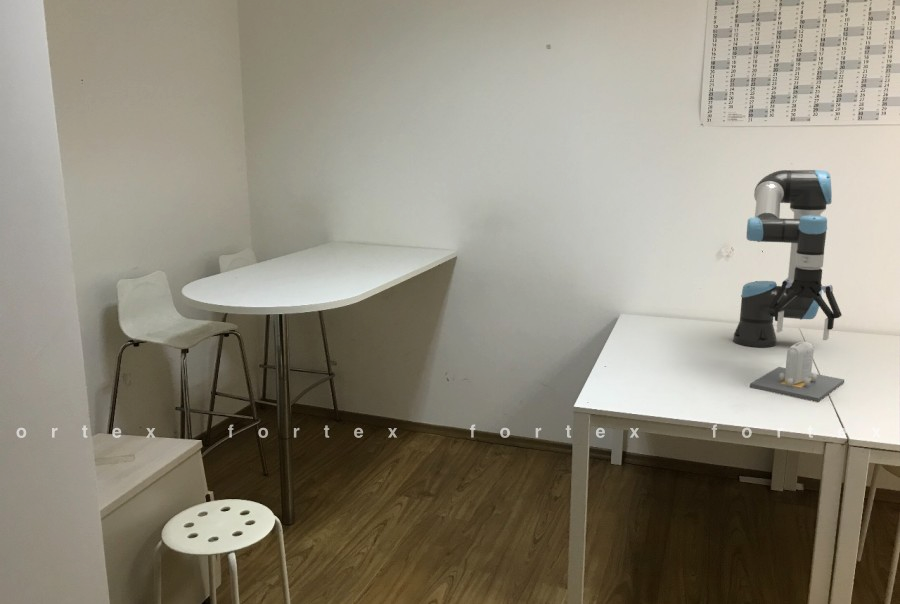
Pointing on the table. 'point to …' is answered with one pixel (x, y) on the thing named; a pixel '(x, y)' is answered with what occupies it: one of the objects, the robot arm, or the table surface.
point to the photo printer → (799, 362)
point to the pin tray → (797, 385)
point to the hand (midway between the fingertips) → (802, 335)
